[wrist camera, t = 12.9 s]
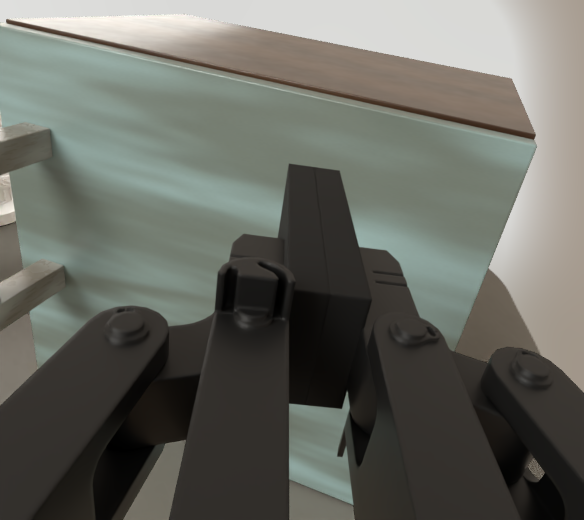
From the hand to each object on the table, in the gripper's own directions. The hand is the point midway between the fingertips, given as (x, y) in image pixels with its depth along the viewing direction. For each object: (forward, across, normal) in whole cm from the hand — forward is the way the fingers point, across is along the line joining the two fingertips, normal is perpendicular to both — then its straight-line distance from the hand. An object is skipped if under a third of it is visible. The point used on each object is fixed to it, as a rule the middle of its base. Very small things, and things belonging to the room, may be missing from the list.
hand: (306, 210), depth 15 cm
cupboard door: (+7, -4, -22) cm, 23 cm away
